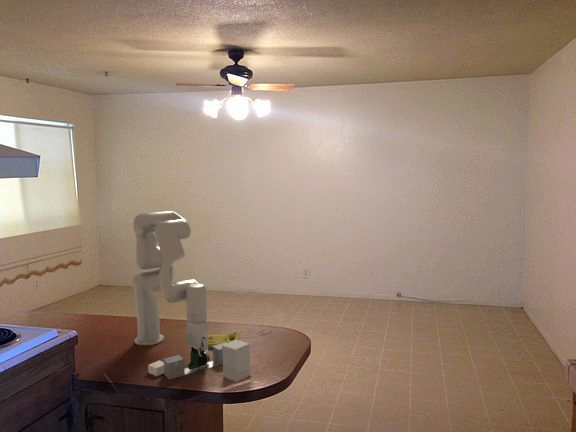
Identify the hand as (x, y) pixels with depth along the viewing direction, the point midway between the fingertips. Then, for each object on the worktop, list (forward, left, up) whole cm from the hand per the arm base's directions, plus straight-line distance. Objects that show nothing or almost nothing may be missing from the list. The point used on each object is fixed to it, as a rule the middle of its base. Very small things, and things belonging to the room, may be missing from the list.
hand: (198, 362), depth 180 cm
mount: (0, 0, -1) cm, 1 cm away
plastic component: (-16, +17, -3) cm, 24 cm away
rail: (0, 0, -3) cm, 3 cm away
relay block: (-6, -14, -3) cm, 15 cm away
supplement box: (+15, +8, -3) cm, 17 cm away
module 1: (0, -10, -2) cm, 10 cm away
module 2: (0, +10, -2) cm, 10 cm away
